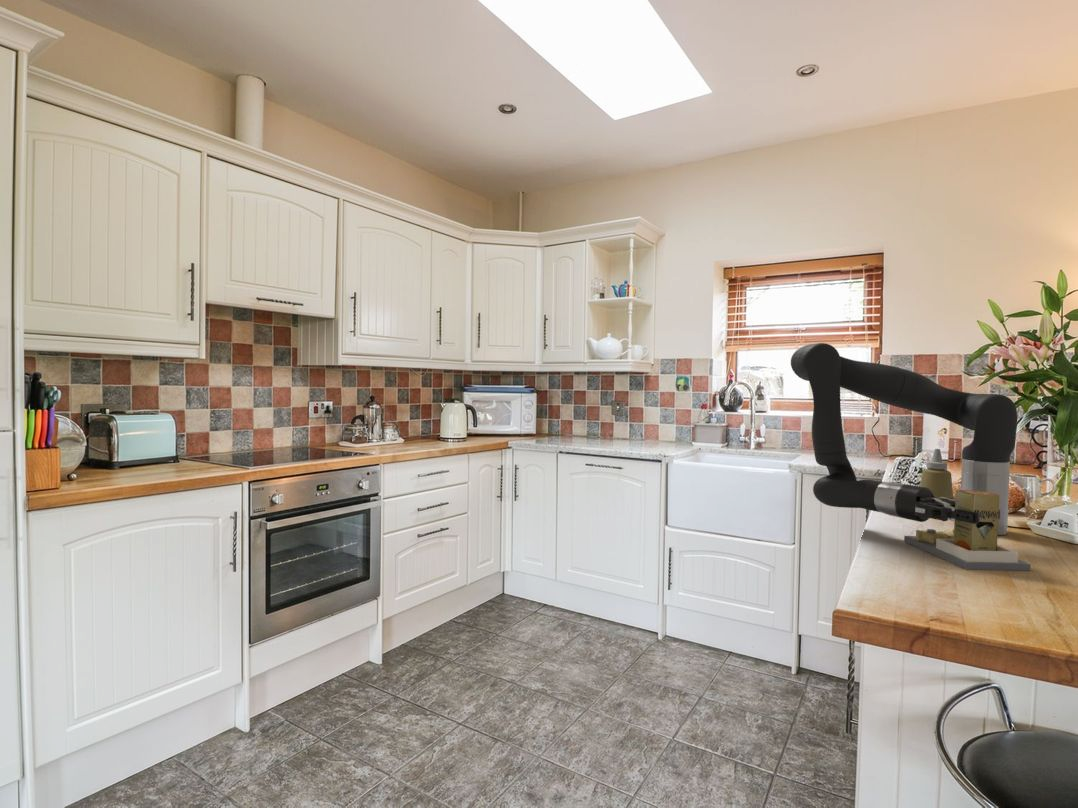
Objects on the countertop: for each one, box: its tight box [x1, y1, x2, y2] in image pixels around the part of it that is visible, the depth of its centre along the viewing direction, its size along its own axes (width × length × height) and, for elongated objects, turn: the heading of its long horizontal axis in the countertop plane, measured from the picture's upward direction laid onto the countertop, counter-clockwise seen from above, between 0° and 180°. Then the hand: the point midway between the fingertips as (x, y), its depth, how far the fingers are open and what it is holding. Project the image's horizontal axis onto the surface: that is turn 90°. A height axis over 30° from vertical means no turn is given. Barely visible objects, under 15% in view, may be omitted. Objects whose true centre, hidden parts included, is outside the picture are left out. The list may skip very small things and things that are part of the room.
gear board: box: [903, 528, 1032, 571], centre depth 121 cm, size 20×12×4 cm, turn 178°
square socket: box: [936, 538, 1019, 563], centre depth 116 cm, size 9×9×2 cm
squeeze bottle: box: [919, 448, 954, 499], centre depth 159 cm, size 8×8×18 cm
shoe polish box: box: [953, 489, 999, 551], centre depth 116 cm, size 5×5×12 cm
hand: (988, 516), depth 114 cm, fingers open, 7 cm apart
